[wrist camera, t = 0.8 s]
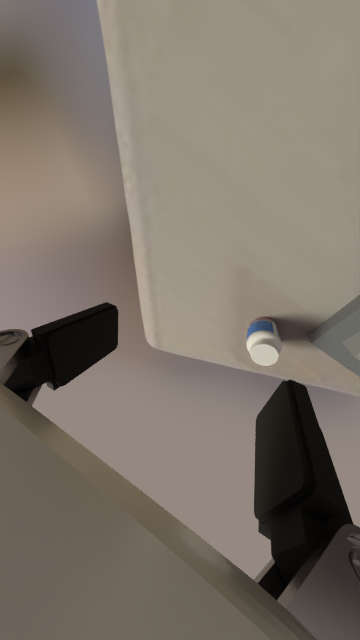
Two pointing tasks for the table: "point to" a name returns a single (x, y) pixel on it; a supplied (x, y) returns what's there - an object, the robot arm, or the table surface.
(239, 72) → the table surface
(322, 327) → the panel
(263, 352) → the pill bottle
